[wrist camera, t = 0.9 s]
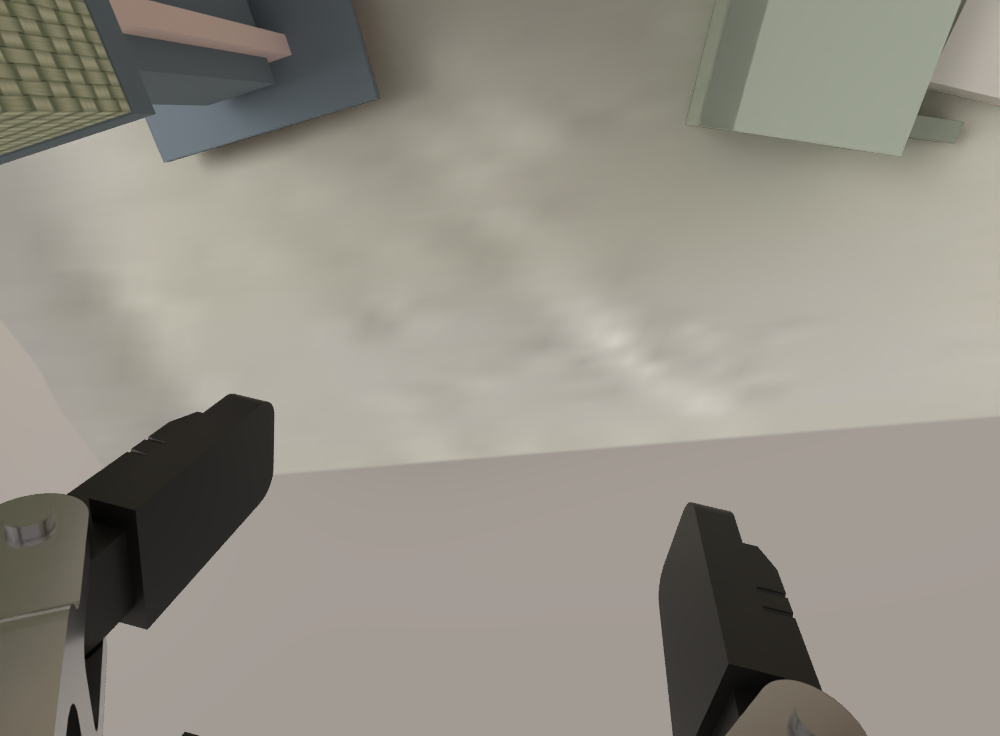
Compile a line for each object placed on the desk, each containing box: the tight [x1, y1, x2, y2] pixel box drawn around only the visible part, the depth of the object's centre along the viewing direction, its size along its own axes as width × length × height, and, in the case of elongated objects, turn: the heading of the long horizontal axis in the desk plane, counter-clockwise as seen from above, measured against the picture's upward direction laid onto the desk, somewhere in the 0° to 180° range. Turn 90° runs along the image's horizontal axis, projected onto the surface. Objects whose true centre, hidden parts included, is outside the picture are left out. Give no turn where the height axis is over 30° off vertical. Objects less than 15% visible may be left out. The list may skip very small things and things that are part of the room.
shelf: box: [686, 0, 964, 156], centre depth 28 cm, size 12×13×6 cm
